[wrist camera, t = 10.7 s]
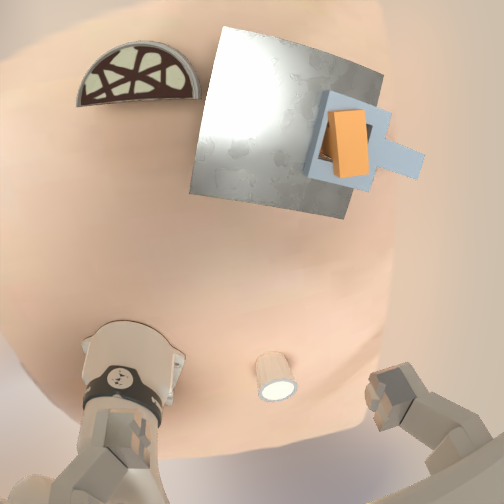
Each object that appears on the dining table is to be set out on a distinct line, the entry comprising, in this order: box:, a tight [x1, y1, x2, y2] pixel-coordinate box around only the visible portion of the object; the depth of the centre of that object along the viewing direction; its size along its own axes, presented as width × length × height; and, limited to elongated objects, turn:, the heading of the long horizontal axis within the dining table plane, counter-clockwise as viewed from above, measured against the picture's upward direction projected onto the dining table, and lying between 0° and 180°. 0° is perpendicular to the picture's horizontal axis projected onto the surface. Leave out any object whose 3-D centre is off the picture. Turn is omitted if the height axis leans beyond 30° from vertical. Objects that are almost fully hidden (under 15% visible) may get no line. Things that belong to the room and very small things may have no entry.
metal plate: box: [189, 26, 384, 219], centre depth 31 cm, size 16×16×10 cm
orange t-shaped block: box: [320, 109, 369, 178], centre depth 29 cm, size 6×3×8 cm, turn 9°
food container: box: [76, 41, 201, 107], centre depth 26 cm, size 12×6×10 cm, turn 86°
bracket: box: [303, 90, 425, 192], centre depth 28 cm, size 8×13×3 cm, turn 78°
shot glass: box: [256, 352, 298, 402], centre depth 52 cm, size 7×7×7 cm
